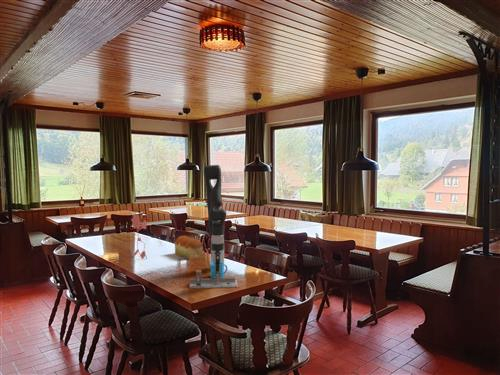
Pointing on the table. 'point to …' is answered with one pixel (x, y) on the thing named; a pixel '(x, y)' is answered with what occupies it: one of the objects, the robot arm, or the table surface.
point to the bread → (188, 247)
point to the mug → (220, 269)
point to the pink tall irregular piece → (136, 225)
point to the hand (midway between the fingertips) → (217, 270)
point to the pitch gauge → (212, 282)
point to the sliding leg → (217, 273)
